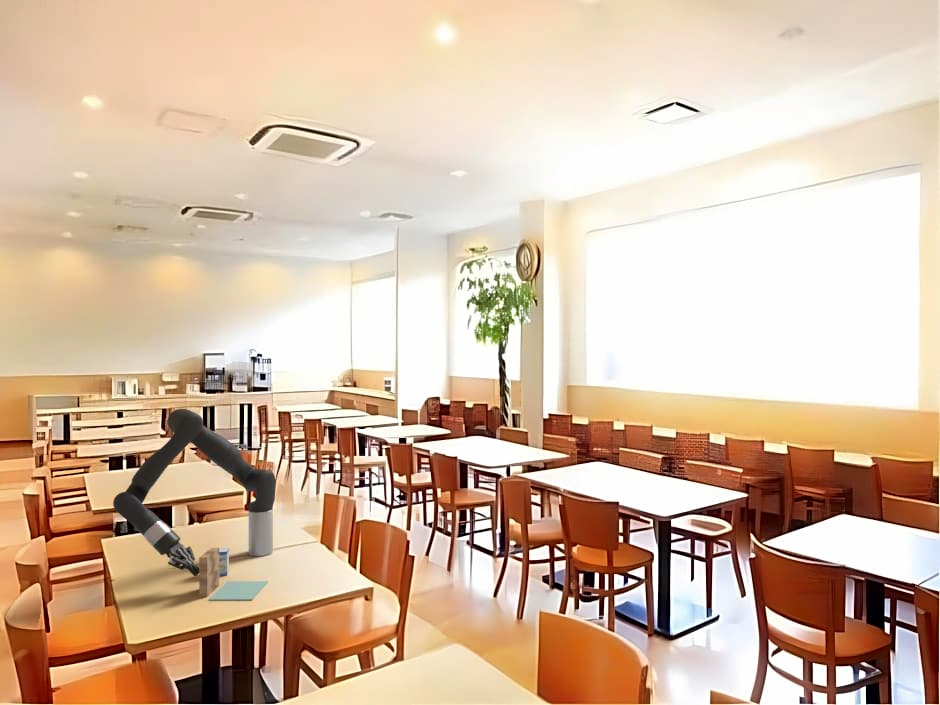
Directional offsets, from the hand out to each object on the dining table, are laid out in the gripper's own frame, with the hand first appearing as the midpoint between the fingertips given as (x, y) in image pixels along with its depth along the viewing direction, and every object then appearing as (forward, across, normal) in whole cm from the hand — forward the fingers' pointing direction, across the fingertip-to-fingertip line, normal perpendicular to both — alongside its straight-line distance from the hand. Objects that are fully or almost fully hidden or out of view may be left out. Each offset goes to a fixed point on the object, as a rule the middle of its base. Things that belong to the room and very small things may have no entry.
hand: (198, 573), depth 211 cm
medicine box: (+4, +16, +4) cm, 17 cm away
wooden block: (+7, 0, +2) cm, 7 cm away
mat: (+14, 0, -6) cm, 15 cm away
